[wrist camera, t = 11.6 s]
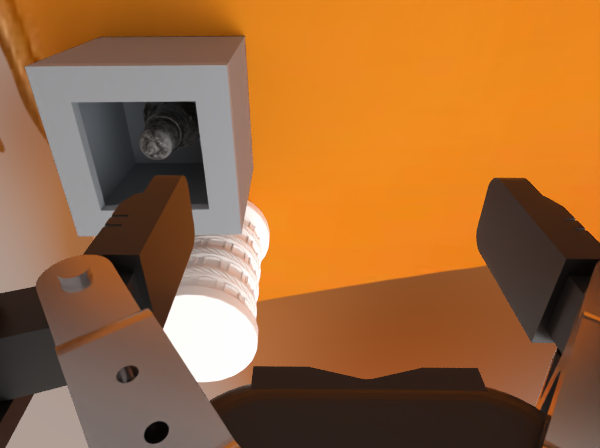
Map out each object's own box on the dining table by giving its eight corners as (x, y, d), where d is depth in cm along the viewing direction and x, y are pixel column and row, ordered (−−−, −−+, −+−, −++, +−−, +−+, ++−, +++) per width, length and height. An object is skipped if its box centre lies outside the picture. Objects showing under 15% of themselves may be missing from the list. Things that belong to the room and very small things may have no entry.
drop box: (100, 36, 42) (24, 66, 30) (244, 36, 42) (226, 65, 30) (129, 169, 49) (78, 236, 37) (253, 168, 50) (241, 234, 38)
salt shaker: (150, 128, 46) (110, 175, 36) (156, 73, 43) (115, 107, 33) (205, 142, 47) (181, 191, 37) (214, 89, 44) (191, 127, 34)
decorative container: (250, 180, 50) (232, 276, 35) (282, 257, 56) (279, 369, 41) (159, 207, 52) (104, 310, 37) (199, 279, 58) (166, 395, 42)
